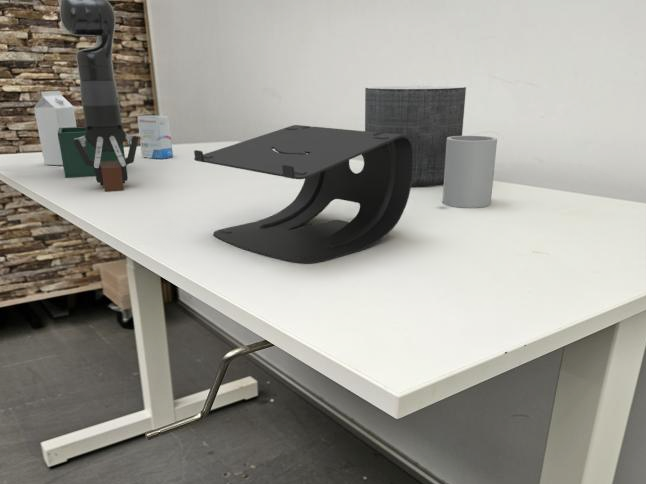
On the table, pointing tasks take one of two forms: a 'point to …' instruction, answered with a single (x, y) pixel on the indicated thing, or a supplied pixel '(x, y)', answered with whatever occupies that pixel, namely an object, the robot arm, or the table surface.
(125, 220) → the table surface
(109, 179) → the brown rectangular block
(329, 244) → the laptop stand
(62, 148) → the bin
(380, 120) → the planter
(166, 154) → the ink box
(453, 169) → the cup
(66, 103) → the milk carton
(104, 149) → the robot arm
